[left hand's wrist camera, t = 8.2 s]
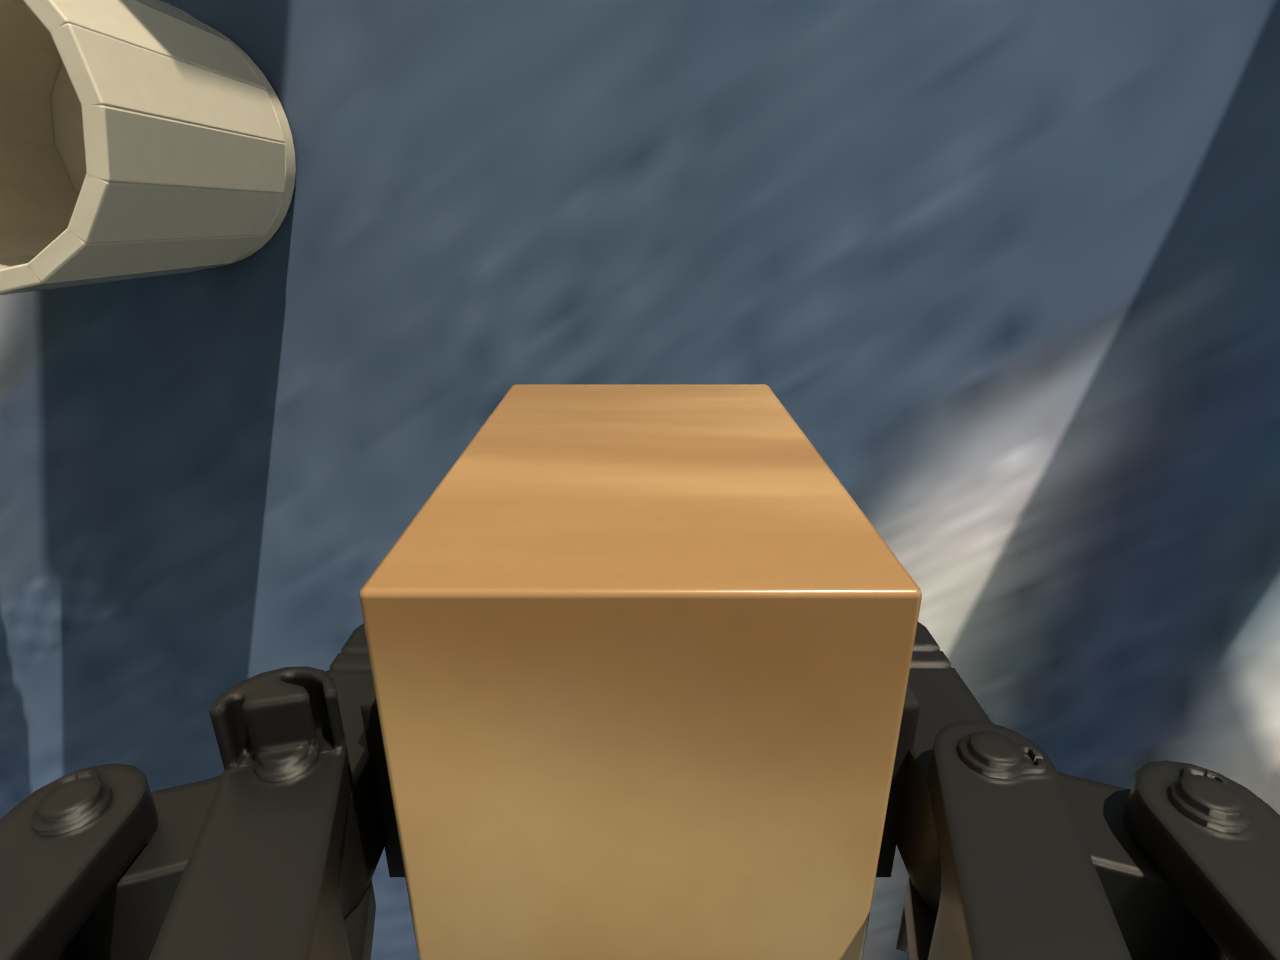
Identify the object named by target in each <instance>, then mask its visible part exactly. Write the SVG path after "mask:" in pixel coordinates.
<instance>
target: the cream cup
mask: <svg viewBox="0 0 1280 960" xmlns="http://www.w3.org/2000/svg"><path fill="white" fill-rule="evenodd" d="M295 173H296V166H295V151H294V145H293V139H292V134H291V131H290V127H289V124H288V120H287V118H286V115H285V113H284V110H283V108H282V105H281V103H280V101H279V99H278V97H277V95H276V94H275V92H274V90H273V88H272V86H271V85H270V83H269V82H268V80H267V79H266V77H265V76H264V74H263V73H262V71H261V70H260V69H259V68H258V67H257V65H256V64H255V63H254V62H253V61H252V60H251V58H250V57H249V56H248V55H247V54H246V53H245V52H244V51H243V50H242V49H241V48H239V47H238V46H237V45H236V44H235V43H234V42H233V41H231V40H230V39H229V38H227V37H226V36H225V35H223V34H222V33H221V32H219V31H217V30H216V29H214V28H212V27H211V26H209V25H207V24H206V23H204V22H201V21H199V20H197V19H195V18H194V17H192V16H191V15H189V14H188V13H186V12H185V11H183V10H181V9H179V8H176V7H174V6H172V5H170V4H168V3H165V2H163V1H161V0H0V295H5V294H13V293H21V292H30V291H38V290H46V289H54V288H62V287H71V286H79V285H87V284H95V283H103V282H112V281H120V280H128V279H136V278H144V277H153V276H161V275H169V274H177V273H185V272H193V271H197V270H202V269H206V268H213V267H220V266H225V265H229V264H232V263H235V262H238V261H240V260H242V259H244V258H247V257H249V256H250V255H252V254H253V253H255V252H256V251H258V250H259V249H260V248H262V247H263V246H264V245H265V244H266V243H267V242H268V241H269V240H270V239H271V238H272V236H273V235H274V234H275V233H276V231H277V230H278V229H279V227H280V225H281V223H282V222H283V220H284V218H285V216H286V214H287V211H288V208H289V206H290V203H291V199H292V195H293V190H294V185H295Z"/></svg>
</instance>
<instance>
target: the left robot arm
mask: <svg viewBox="0 0 1280 960" xmlns="http://www.w3.org/2000/svg"><path fill="white" fill-rule="evenodd" d="M209 713H210V716H211V720H212V724H213V728H214V731H215V735H216V739H217V742H218V746H219V750H220V754H221V757H222V761H223V765H224V769H225V770H224V772H223V775H221V776H217V777H214V778H211V779H207V780H204V781H199V782H195V783H191V784H186V785H182V786H177V787H173V788H169V789H164V790H160V791H155V792H151V791H150V788H149V785H148V782H147V779H146V776H145V775H144V774H143V773H142V772H141V771H140V770H138V769H137V768H136V767H135V766H129V765H122V764H109V765H101V766H94V767H89V768H86V769H83V770H80V771H77V772H74V773H71V774H69V775H66V776H63V777H61V778H59V779H57V780H55V781H53V782H52V783H50V784H48V785H46V786H44V787H42V788H40V789H38V790H36V791H35V792H34V793H32V794H31V795H30V796H28V797H27V798H26V799H25V800H23V801H22V802H21V803H19V804H18V805H17V806H16V807H14V808H13V809H12V810H11V811H10V812H9V813H8V814H7V815H6V816H5V817H3V818H2V819H1V820H0V960H371V950H372V940H373V930H374V920H375V911H376V904H375V897H374V890H373V884H372V876H373V874H374V871H375V869H376V866H377V864H378V861H379V859H380V856H381V854H382V851H383V849H384V846H385V852H386V857H387V863H388V869H389V875H390V877H405V872H404V866H403V860H402V853H401V847H400V841H399V835H398V829H397V823H396V817H395V811H394V805H393V798H392V792H391V786H390V780H389V774H388V768H387V762H386V756H385V750H384V743H383V737H382V731H381V725H380V719H379V713H378V707H377V701H376V695H375V688H374V682H373V676H372V670H371V664H370V658H369V652H368V646H367V640H366V633H365V627H364V623H363V624H362V625H361V626H359V627H358V628H356V629H355V630H354V632H353V633H352V635H351V636H350V638H349V639H348V641H347V642H346V643H345V645H344V646H343V648H342V649H341V653H339V654H338V655H337V657H336V658H335V659H334V661H333V662H332V664H331V665H330V670H327V671H326V672H325V671H323V670H319V669H315V668H311V667H285V668H281V669H277V670H272V671H268V672H264V673H261V674H259V675H256V676H254V677H252V678H249V679H247V680H245V681H243V682H240V683H239V684H237V685H236V686H234V687H233V688H232V689H230V690H229V691H227V692H226V693H224V694H223V695H222V696H220V698H219V699H218V700H217V702H216V703H215V704H214V705H213V707H212V708H211V709H210V710H209ZM896 844H897V847H898V849H899V852H900V854H901V857H902V859H903V861H904V864H905V866H906V869H907V871H908V874H909V879H908V884H907V890H906V895H905V901H904V906H903V911H902V917H901V922H900V927H899V933H898V940H897V947H896V949H898V950H902V951H906V946H907V941H908V948H909V958H910V960H1280V815H1279V814H1278V813H1276V812H1275V811H1274V810H1273V809H1272V808H1271V807H1270V806H1269V805H1268V804H1266V803H1265V802H1264V801H1263V800H1261V799H1260V798H1259V797H1257V796H1256V795H1255V794H1253V793H1252V792H1251V791H1250V790H1248V789H1247V788H1245V787H1243V786H1242V785H1240V784H1238V783H1236V782H1234V781H1232V780H1230V779H1228V778H1226V777H1224V776H1223V775H1221V774H1219V773H1216V772H1213V771H1210V770H1208V769H1204V768H1201V767H1198V766H1195V765H1192V764H1187V763H1179V762H1172V761H1160V762H1154V763H1147V764H1146V765H1144V766H1143V767H1142V768H1141V769H1140V770H1139V771H1137V772H1136V775H1135V778H1134V781H1133V784H1132V787H1131V790H1129V789H1125V788H1120V787H1116V786H1112V785H1107V784H1103V783H1098V782H1094V781H1090V780H1085V779H1081V778H1076V777H1073V776H1070V775H1066V774H1063V773H1059V772H1057V771H1056V769H1055V767H1054V766H1053V764H1052V763H1051V761H1050V760H1049V758H1048V757H1047V755H1046V754H1045V752H1043V751H1042V750H1041V749H1040V748H1038V747H1037V746H1036V745H1035V744H1034V743H1032V742H1031V741H1030V740H1029V739H1027V738H1025V737H1023V736H1021V735H1019V734H1017V733H1015V732H1013V731H1011V730H1009V729H1007V728H1005V727H1002V726H998V725H994V724H992V722H991V721H990V719H989V718H988V716H987V715H986V713H985V712H984V711H983V709H982V708H981V706H980V705H979V703H978V702H977V700H976V699H975V698H974V696H973V695H972V693H971V692H970V690H969V689H968V687H967V686H966V685H965V683H964V682H963V680H962V679H961V677H960V676H959V674H958V673H957V672H956V670H955V669H954V668H951V663H950V661H949V660H948V659H947V657H946V656H945V654H944V653H943V651H940V647H939V646H938V644H937V643H936V641H935V640H934V638H933V637H932V636H931V634H930V633H929V631H928V630H927V628H926V627H925V626H923V625H922V624H921V623H919V622H917V628H916V634H915V640H914V646H913V652H912V659H911V665H910V671H909V677H908V683H907V689H906V695H905V701H904V707H903V713H902V719H901V725H900V731H899V738H898V744H897V750H896V756H895V762H894V768H893V774H892V780H891V786H890V792H889V798H888V804H887V810H886V817H885V823H884V829H883V835H882V841H881V847H880V853H879V859H878V865H877V871H876V877H891V872H892V866H893V860H894V855H895V849H896Z"/></svg>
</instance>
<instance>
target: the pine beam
mask: <svg viewBox="0 0 1280 960" xmlns="http://www.w3.org/2000/svg"><path fill="white" fill-rule="evenodd" d="M359 596H360V603H361V609H362V615H363V621H364V627H365V633H366V640H367V646H368V652H369V658H370V664H371V670H372V676H373V682H374V688H375V695H376V701H377V707H378V713H379V719H380V725H381V731H382V737H383V743H384V750H385V756H386V762H387V768H388V774H389V780H390V786H391V792H392V798H393V805H394V811H395V817H396V823H397V829H398V835H399V841H400V847H401V853H402V860H403V866H404V872H405V878H406V884H407V890H408V896H409V902H410V908H411V915H412V921H413V927H414V933H415V939H416V945H417V951H418V957H419V960H862V956H863V950H864V944H865V938H866V932H867V926H868V920H869V914H870V908H871V902H872V896H873V889H874V883H875V877H876V871H877V865H878V859H879V853H880V847H881V841H882V835H883V829H884V823H885V817H886V810H887V804H888V798H889V792H890V786H891V780H892V774H893V768H894V762H895V756H896V750H897V744H898V738H899V731H900V725H901V719H902V713H903V707H904V701H905V695H906V689H907V683H908V677H909V671H910V665H911V659H912V652H913V646H914V640H915V634H916V628H917V622H918V616H919V610H920V604H921V598H922V594H921V591H920V588H919V587H918V586H917V584H916V583H915V582H914V580H913V579H912V578H911V576H910V575H909V574H908V572H907V571H906V570H905V568H904V567H903V566H902V564H901V563H900V562H899V560H898V559H897V558H896V556H895V555H894V554H893V552H892V551H891V550H890V548H889V547H888V546H887V544H886V543H885V542H884V540H883V539H882V538H881V536H880V535H879V534H878V532H877V531H876V530H875V528H874V527H873V526H872V524H871V523H870V522H869V520H868V519H867V518H866V516H865V515H864V514H863V512H862V511H861V510H860V508H859V507H858V506H857V504H856V503H855V502H854V500H853V499H852V498H851V496H850V495H849V494H848V492H847V491H846V490H845V488H844V487H843V486H842V484H841V483H840V481H839V480H838V479H837V477H836V476H835V475H834V473H833V472H832V471H831V469H830V468H829V467H828V465H827V464H826V463H825V461H824V460H823V459H822V457H821V456H820V455H819V453H818V452H817V451H816V449H815V448H814V447H813V445H812V444H811V443H810V441H809V440H808V439H807V437H806V436H805V435H804V433H803V432H802V431H801V429H800V428H799V427H798V425H797V424H796V423H795V421H794V420H793V419H792V417H791V416H790V415H789V413H788V412H787V411H786V409H785V408H784V407H783V405H782V404H781V403H780V401H779V400H778V399H777V397H776V396H775V395H774V393H773V392H772V391H771V389H770V388H769V387H768V386H767V385H513V386H512V387H511V388H510V390H509V391H508V392H507V394H506V395H505V396H504V398H503V399H502V400H501V402H500V403H499V404H498V406H497V407H496V408H495V410H494V411H493V413H492V414H491V415H490V417H489V418H488V419H487V421H486V422H485V423H484V425H483V426H482V427H481V429H480V430H479V431H478V433H477V434H476V435H475V437H474V438H473V439H472V441H471V442H470V443H469V445H468V446H467V447H466V449H465V450H464V452H463V453H462V454H461V456H460V457H459V458H458V460H457V461H456V462H455V464H454V465H453V466H452V468H451V469H450V470H449V472H448V473H447V474H446V476H445V477H444V478H443V480H442V481H441V482H440V484H439V485H438V486H437V488H436V489H435V491H434V492H433V493H432V495H431V496H430V497H429V499H428V500H427V501H426V503H425V504H424V505H423V507H422V508H421V509H420V511H419V512H418V513H417V515H416V516H415V517H414V519H413V520H412V521H411V523H410V524H409V526H408V527H407V528H406V530H405V531H404V532H403V534H402V535H401V536H400V538H399V539H398V540H397V542H396V543H395V544H394V546H393V547H392V548H391V550H390V551H389V552H388V554H387V555H386V556H385V558H384V559H383V560H382V562H381V563H380V565H379V566H378V567H377V569H376V570H375V571H374V573H373V574H372V575H371V577H370V578H369V579H368V581H367V582H366V583H365V585H364V586H363V587H362V589H361V591H360V594H359Z"/></svg>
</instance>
